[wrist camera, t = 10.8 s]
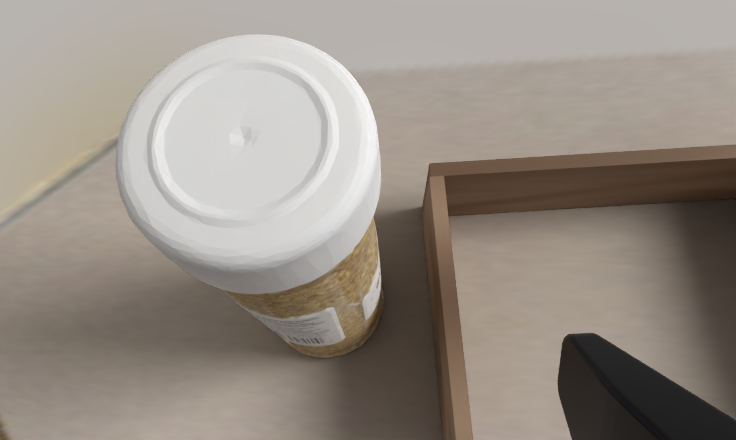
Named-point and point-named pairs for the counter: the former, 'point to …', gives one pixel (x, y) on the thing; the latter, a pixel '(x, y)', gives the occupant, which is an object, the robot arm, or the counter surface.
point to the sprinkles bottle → (263, 185)
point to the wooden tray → (544, 192)
